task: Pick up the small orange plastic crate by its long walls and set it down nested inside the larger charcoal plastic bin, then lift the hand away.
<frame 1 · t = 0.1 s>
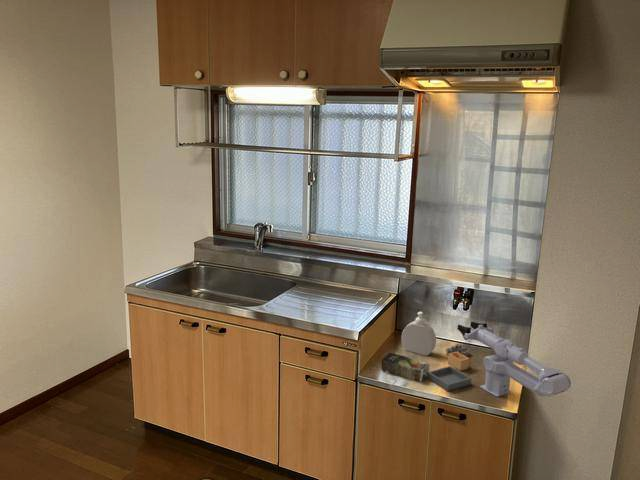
hand: (464, 325, 243), 22 cm above the worktop, tool horizontal, fingers open, 7 cm apart
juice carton: (405, 373, 246), on the worktop
charcoal bin: (448, 381, 238), on the worktop
egg carton: (456, 356, 264), on the worktop
soap bottle: (417, 351, 267), on the worktop
orange crate: (458, 366, 253), on the worktop
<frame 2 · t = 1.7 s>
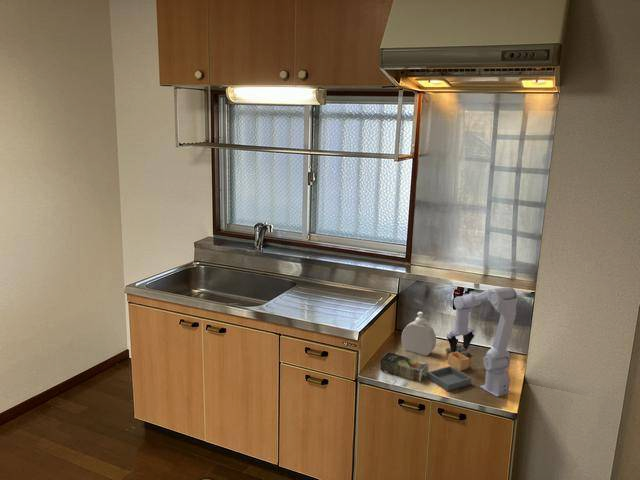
hand: (459, 349, 251), 8 cm above the worktop, tool pointing down, fingers open, 7 cm apart
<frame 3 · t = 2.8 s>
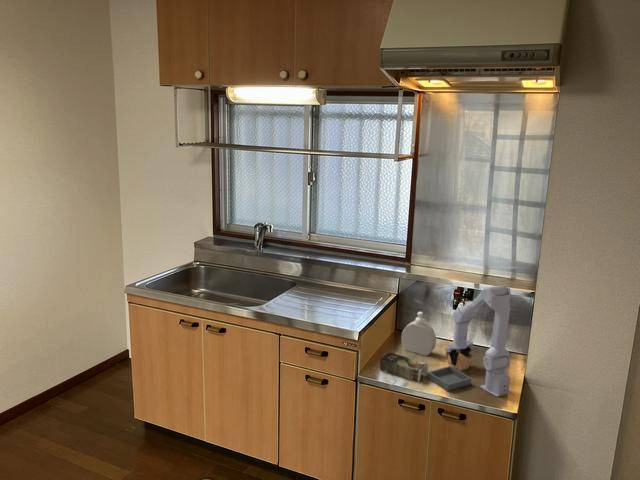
hand: (458, 363, 252), 1 cm above the worktop, tool pointing down, fingers closed on orange crate, 5 cm apart
orange crate: (458, 366, 253), on the worktop, touching gripper
everything else where it was.
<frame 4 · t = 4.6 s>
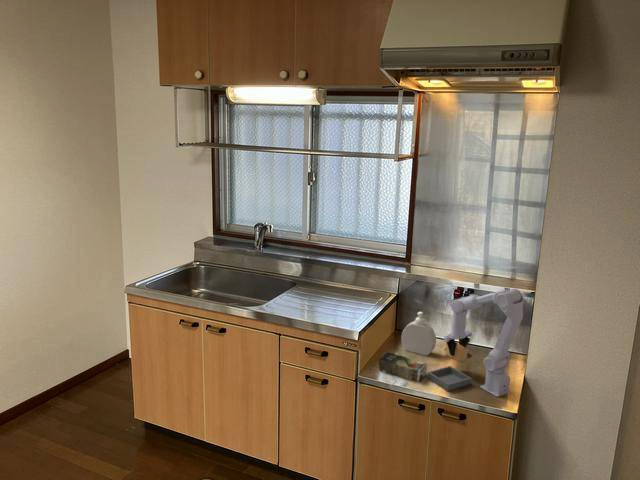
hand: (456, 353, 246), 8 cm above the worktop, tool pointing down, fingers closed on orange crate, 5 cm apart
orange crate: (456, 356, 246), point 7 cm above the worktop, touching gripper
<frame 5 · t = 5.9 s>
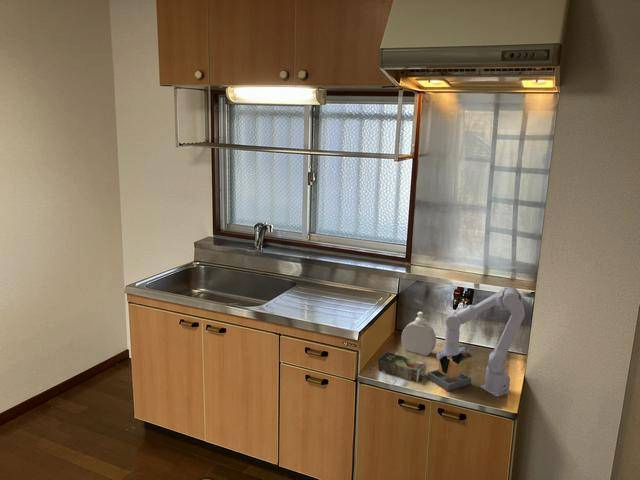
hand: (449, 370, 237), 5 cm above the worktop, tool pointing down, fingers closed on orange crate, 5 cm apart
orange crate: (448, 374, 238), point 3 cm above the worktop, touching gripper
when the fingers open (4 cm above the worktop, at t = 6.7 s): orange crate drops 1 cm, resting on charcoal bin.
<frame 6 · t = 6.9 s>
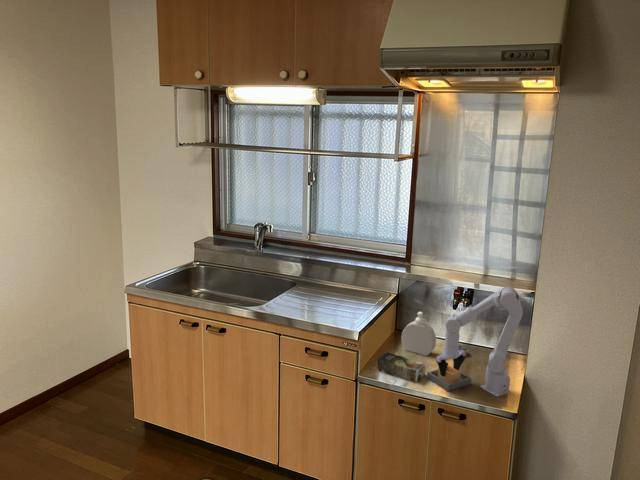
hand: (449, 373, 237), 4 cm above the worktop, tool pointing down, fingers open, 7 cm apart
orange crate: (448, 380, 238), point 1 cm above the worktop, touching charcoal bin
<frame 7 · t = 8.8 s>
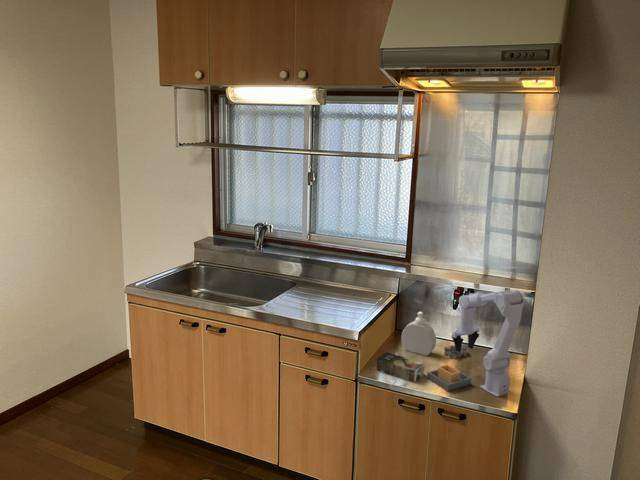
hand: (464, 349, 248), 9 cm above the worktop, tool pointing down, fingers open, 7 cm apart
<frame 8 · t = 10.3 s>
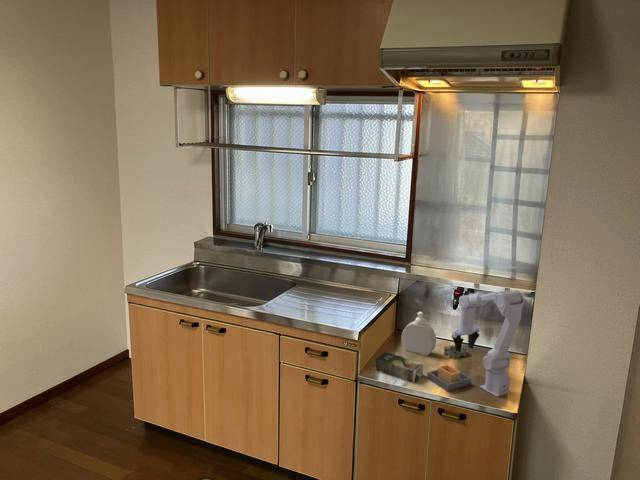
hand: (464, 349, 248), 9 cm above the worktop, tool pointing down, fingers open, 7 cm apart
at the end: orange crate 0.2 cm off-centre on the charcoal bin, point 0.6 cm above the charcoal bin's base; orange crate tilted 0°; the gripper is holding nothing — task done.
